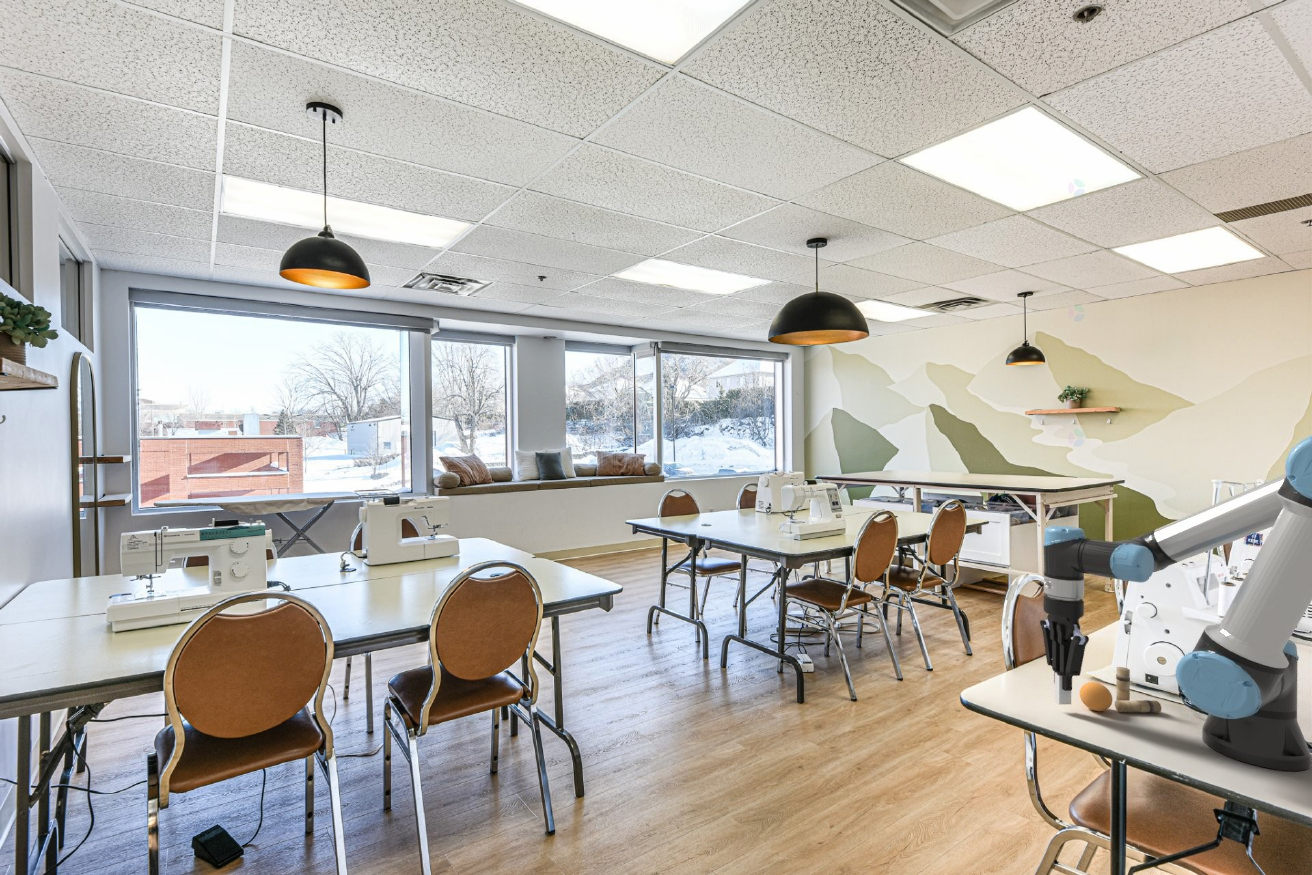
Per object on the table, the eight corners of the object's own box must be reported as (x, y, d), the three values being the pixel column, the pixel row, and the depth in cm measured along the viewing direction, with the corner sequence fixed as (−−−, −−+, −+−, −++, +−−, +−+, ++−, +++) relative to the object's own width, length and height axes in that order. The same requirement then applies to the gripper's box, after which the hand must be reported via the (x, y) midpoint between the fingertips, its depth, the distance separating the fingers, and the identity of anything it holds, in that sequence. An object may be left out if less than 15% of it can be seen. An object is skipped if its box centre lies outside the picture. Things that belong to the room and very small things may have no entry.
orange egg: (1077, 680, 139) (1077, 708, 139) (1110, 687, 135) (1110, 716, 135) (1081, 677, 144) (1081, 704, 143) (1114, 683, 140) (1114, 711, 139)
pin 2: (1117, 713, 139) (1155, 713, 139) (1124, 711, 137) (1163, 711, 137) (1112, 701, 140) (1151, 701, 140) (1120, 699, 138) (1158, 699, 138)
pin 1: (1130, 706, 141) (1130, 668, 141) (1129, 709, 139) (1129, 671, 140) (1116, 703, 143) (1116, 665, 143) (1115, 706, 141) (1115, 668, 141)
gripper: (1028, 589, 145) (1028, 691, 145) (1066, 604, 132) (1066, 715, 132) (1060, 589, 145) (1060, 691, 145) (1101, 604, 132) (1101, 715, 132)
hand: (1062, 702), depth 138 cm, fingers closed
